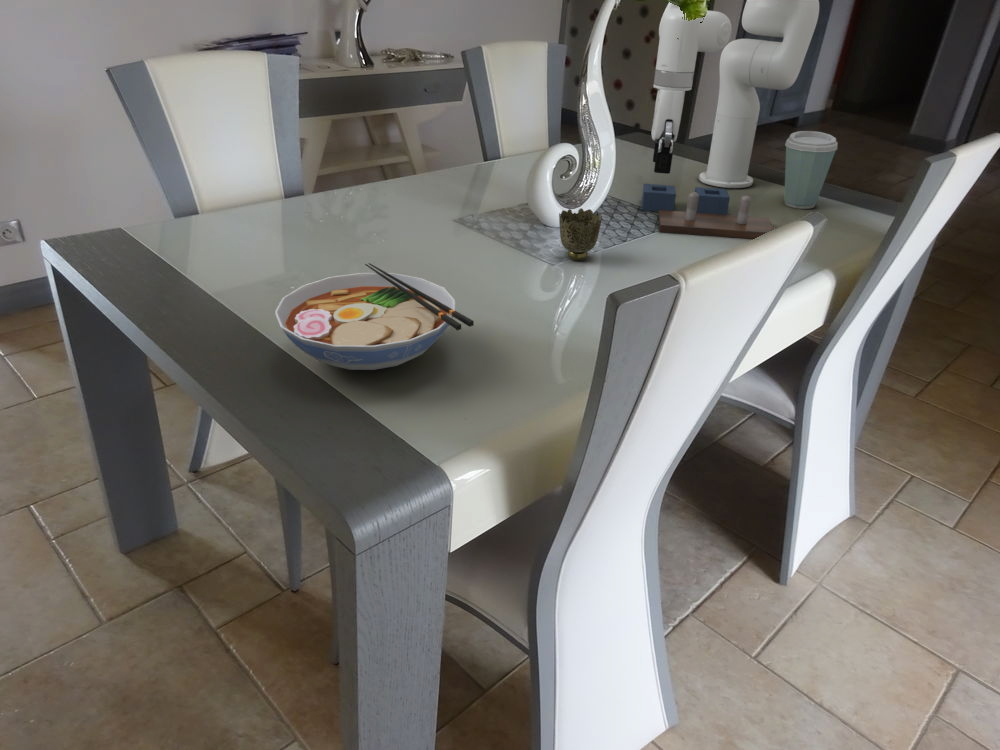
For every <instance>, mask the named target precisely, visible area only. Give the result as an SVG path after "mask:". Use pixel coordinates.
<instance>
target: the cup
mask: <svg viewBox="0 0 1000 750" xmlns="http://www.w3.org/2000/svg"><path fill="white" fill-rule="evenodd" d="M558 220H559V221H558V223H559V224H558V225H559V236H560V241H561V244H562V246H563V247H564V249H565V250H567V253H566V255H567V257H568V259H570V260H571V261H576V262H578V261H579V262H580V261H581V262H582V261H584V260H586V259H587V258H588V257H589V252H590V251H591V250H592V249H594V248H595V246H596V244H597V242H598V238H599V235H600V230H601V225H602V221H603V215H602V214H601V213H600V214H599V212H598V211H596V212H593V211H592V209H589V208H588V209H586V210H584V208H581V207H580V208H578V211H577V212H573V210H572V209H571V208H569V209H567V210H564V209H563V210H561V212H559V213H558Z"/></svg>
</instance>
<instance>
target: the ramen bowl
mask: <svg viewBox="0 0 1000 750" xmlns="http://www.w3.org/2000/svg"><path fill="white" fill-rule="evenodd" d="M364 265H365V266H366V267H367V268H368V269H370V270H372V271H373V272H357V273H349V274H342V275H334V276H328V277H325V278H321V279H318V280H316V281H313V282H309V283H307V284H303V285H301V286H299V287H298V288H296V289H294V290H293V291H291V292H290V293H288V294H286V295H285V296H283V297H282V298H281V299H280V301H279V303H278V305H277V307H276V308H275V310H274V315H275V317H276V320H277V322H278V324H279V327H280V329H281V330H282V332H283V333H284V334H285V335H286V337H287V338H288V339H289V340H290V341H291V342H292V344H294V345H295V346H296V347H297V348H298V349H300V350H301V351H302V352H304V353H305V354H306V355H308V356H310V357H312V358H314V359H315V360H317V361H319V362H321V363H322V364H325V365H328V366H331V367H337V368H340V369H346V370H349V371H359V370H360V371H376V370H381V369H386V368H391V367H392V368H393V367H397V366H399V365H402V364H404V363H406V362H409V361H412V360H413V359H415V358H417V357H420V356H421V355H423V354H424V353H425V352H426V351H427V350H428V349H429V348H430V347H432V346H433V344H435V343H436V342H437V340H439V339H440V337H441V336H442V335H444V333H445V331H446V330H447V328H448V327H449V326H450V327H452V328H453V329H454V330H456V331H459V330H462V324H461V323H463V324H464V325H465V326H467V327H469V328H470V327H474V322H475V321H474V320H473V319H471V318H470V317H467V316H466V315H464V314H462V313H461V312H459V311H457V310H456V299H455V298H454V297H453V296H452V295H451V293H450V292H448V290H447V289H446V288H445V287H444V286H442V285H439V284H436V283H434V282H432V281H429V280H428V279H425V278H422V277H418V276H412V275H406V274H401V273H396V272H395V273H394V272H386V271H384V270H382V269H381V268H379V267H377V266H376V265H374V264H372V263H370V262H368V264H367V263H365V264H364ZM454 318H455V319H456V320H455V319H454ZM457 320H458V321H457ZM459 321H460V322H461V323H460V322H459Z"/></svg>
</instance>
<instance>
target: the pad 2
mask: <svg viewBox="0 0 1000 750" xmlns="http://www.w3.org/2000/svg"><path fill="white" fill-rule="evenodd" d="M694 192H696V193H698V195H699V199H698V206H697V212H696V213H711V214H725V215H728V211H729V205H730V199H731V197H730V194H729V191H728V188H718V187H717V188H715V187H703V186H702V187H700V186H695V187H694Z"/></svg>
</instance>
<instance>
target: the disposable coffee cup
mask: <svg viewBox="0 0 1000 750" xmlns="http://www.w3.org/2000/svg"><path fill="white" fill-rule="evenodd" d="M838 145H839V144H838V141H837V137H834V136H833V135H832V134H829V133H825V132H822V131H812V130H799V131H795V132H792V133H790V135H789V137H788V138H787V139H786V140H785V143H784V146H785V166H784V167H785V168H784V169H785V171H784V193H783V194H784V196H783V198H784V199H783V201H784V205H786V206H787V207H789V208H793V209H798V210H799V209H800V210H809V209H813V208H815V206H816V205H817V203H818V200H819V197H820V194H821V192H822V190H823V186H824V183H825V182H826V181H825V180H826V178H827V175H828V172H829V170H830V167H831V164H832V162H833V159H834V156H835V154H836V151H837V150H838Z"/></svg>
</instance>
